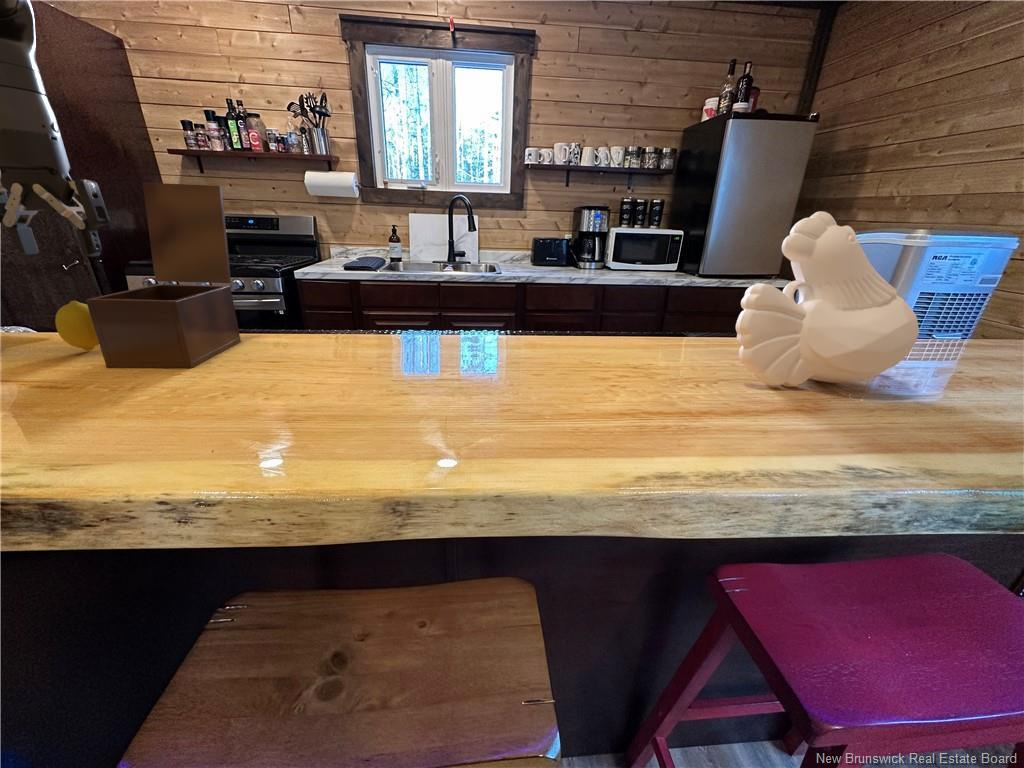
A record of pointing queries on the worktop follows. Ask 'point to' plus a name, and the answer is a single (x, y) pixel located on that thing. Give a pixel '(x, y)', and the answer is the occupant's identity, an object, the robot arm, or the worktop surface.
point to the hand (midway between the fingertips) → (61, 255)
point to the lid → (187, 232)
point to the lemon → (76, 326)
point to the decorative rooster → (824, 313)
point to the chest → (164, 325)
